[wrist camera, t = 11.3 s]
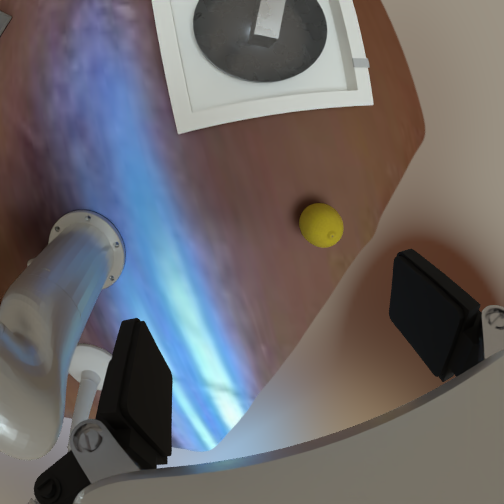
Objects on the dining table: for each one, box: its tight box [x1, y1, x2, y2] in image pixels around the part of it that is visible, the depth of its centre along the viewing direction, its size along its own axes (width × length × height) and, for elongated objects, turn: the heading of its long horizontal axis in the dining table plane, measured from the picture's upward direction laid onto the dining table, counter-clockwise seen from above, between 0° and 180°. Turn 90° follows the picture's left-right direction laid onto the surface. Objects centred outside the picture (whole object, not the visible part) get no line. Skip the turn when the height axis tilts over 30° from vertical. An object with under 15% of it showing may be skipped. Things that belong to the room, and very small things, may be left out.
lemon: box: [299, 203, 343, 248], centre depth 38 cm, size 6×6×8 cm
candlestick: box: [67, 344, 112, 452], centre depth 35 cm, size 13×13×30 cm
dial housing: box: [152, 0, 373, 134], centre depth 27 cm, size 24×24×5 cm
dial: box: [193, 0, 327, 83], centre depth 25 cm, size 16×16×6 cm
